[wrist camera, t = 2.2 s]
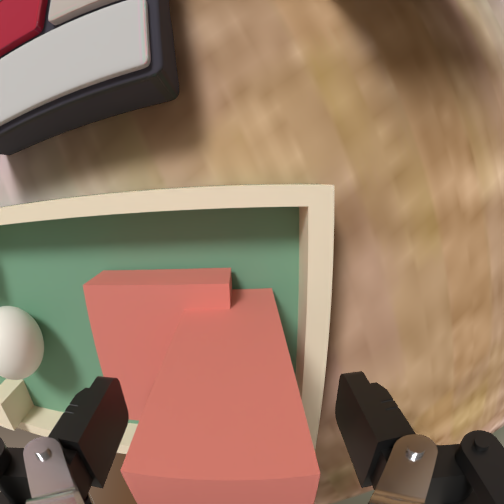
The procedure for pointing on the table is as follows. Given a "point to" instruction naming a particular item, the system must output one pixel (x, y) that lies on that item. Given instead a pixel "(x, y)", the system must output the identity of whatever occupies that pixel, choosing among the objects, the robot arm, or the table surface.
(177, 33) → the table surface
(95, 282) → the block
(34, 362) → the ball
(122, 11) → the calculator
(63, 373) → the pitch
